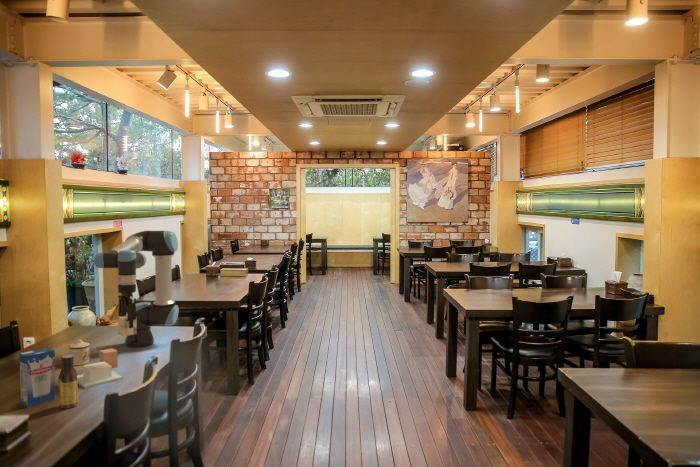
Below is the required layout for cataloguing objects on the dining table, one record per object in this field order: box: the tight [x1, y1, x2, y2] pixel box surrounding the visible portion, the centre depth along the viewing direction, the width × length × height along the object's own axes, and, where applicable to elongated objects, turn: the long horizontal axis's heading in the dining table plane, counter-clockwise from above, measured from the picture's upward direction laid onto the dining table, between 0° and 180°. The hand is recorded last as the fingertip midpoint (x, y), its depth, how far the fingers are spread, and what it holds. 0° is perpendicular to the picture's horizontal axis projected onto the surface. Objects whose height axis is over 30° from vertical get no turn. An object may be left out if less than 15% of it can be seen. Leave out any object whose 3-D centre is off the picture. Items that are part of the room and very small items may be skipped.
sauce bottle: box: [58, 354, 79, 409], centre depth 187 cm, size 7×6×20 cm
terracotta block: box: [99, 347, 118, 369], centre depth 234 cm, size 6×6×8 cm
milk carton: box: [19, 347, 56, 408], centre depth 191 cm, size 10×6×20 cm, turn 148°
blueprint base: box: [77, 361, 124, 389], centre depth 217 cm, size 16×16×6 cm
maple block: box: [117, 316, 137, 337], centre depth 224 cm, size 6×6×8 cm
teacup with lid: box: [68, 339, 91, 367], centre depth 240 cm, size 12×9×12 cm
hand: (127, 333), depth 224 cm, fingers closed on maple block, 6 cm apart
